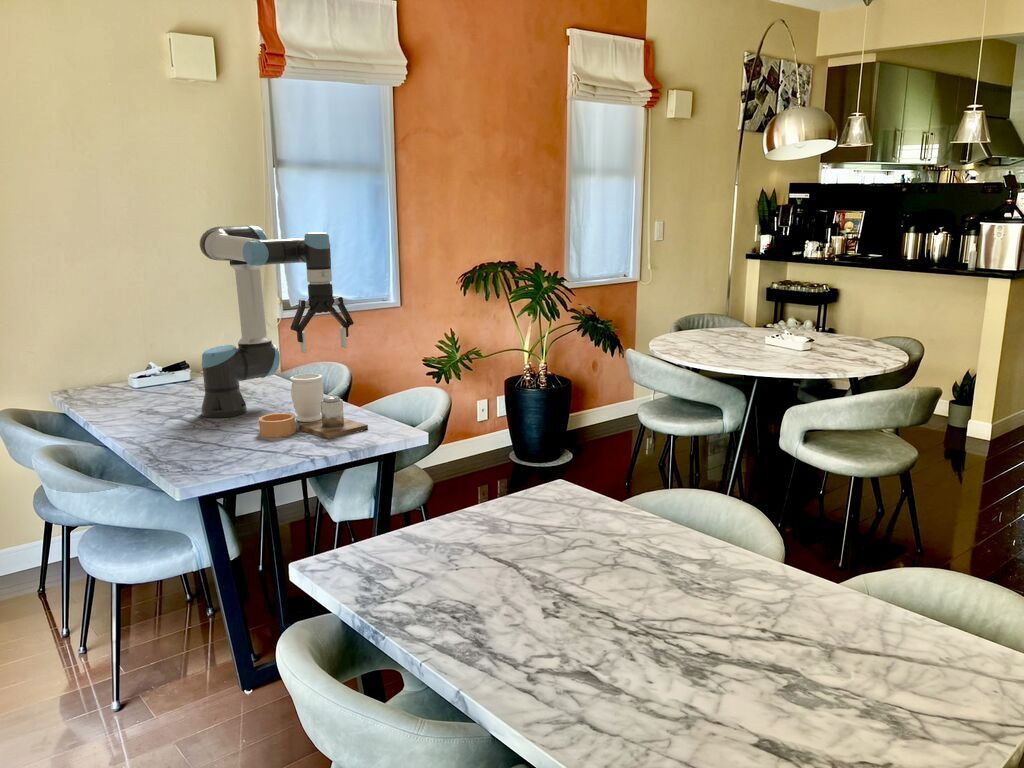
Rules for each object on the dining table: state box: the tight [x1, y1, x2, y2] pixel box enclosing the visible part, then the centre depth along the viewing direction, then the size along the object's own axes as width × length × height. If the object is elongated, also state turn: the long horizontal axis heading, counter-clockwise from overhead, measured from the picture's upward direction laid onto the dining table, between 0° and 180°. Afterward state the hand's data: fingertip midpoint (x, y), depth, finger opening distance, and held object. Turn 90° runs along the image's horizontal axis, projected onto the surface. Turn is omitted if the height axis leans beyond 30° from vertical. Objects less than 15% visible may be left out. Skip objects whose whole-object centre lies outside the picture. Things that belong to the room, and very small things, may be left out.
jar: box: [289, 373, 325, 423], centre depth 279 cm, size 11×10×15 cm
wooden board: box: [298, 417, 369, 440], centre depth 267 cm, size 17×15×2 cm
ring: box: [258, 412, 297, 438], centre depth 264 cm, size 11×11×5 cm
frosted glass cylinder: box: [320, 395, 345, 428], centre depth 266 cm, size 7×7×9 cm
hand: (324, 350), depth 261 cm, fingers open, 13 cm apart
